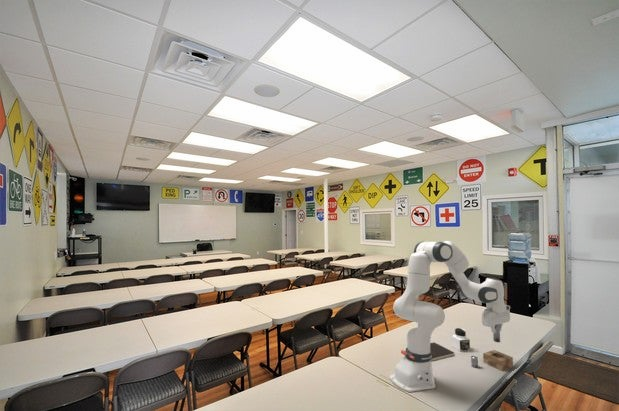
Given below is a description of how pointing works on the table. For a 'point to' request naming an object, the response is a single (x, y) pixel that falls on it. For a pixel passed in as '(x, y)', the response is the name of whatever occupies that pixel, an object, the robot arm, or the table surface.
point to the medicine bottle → (460, 340)
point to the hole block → (498, 360)
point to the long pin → (497, 333)
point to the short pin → (474, 361)
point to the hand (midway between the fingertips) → (496, 331)
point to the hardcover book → (439, 351)
